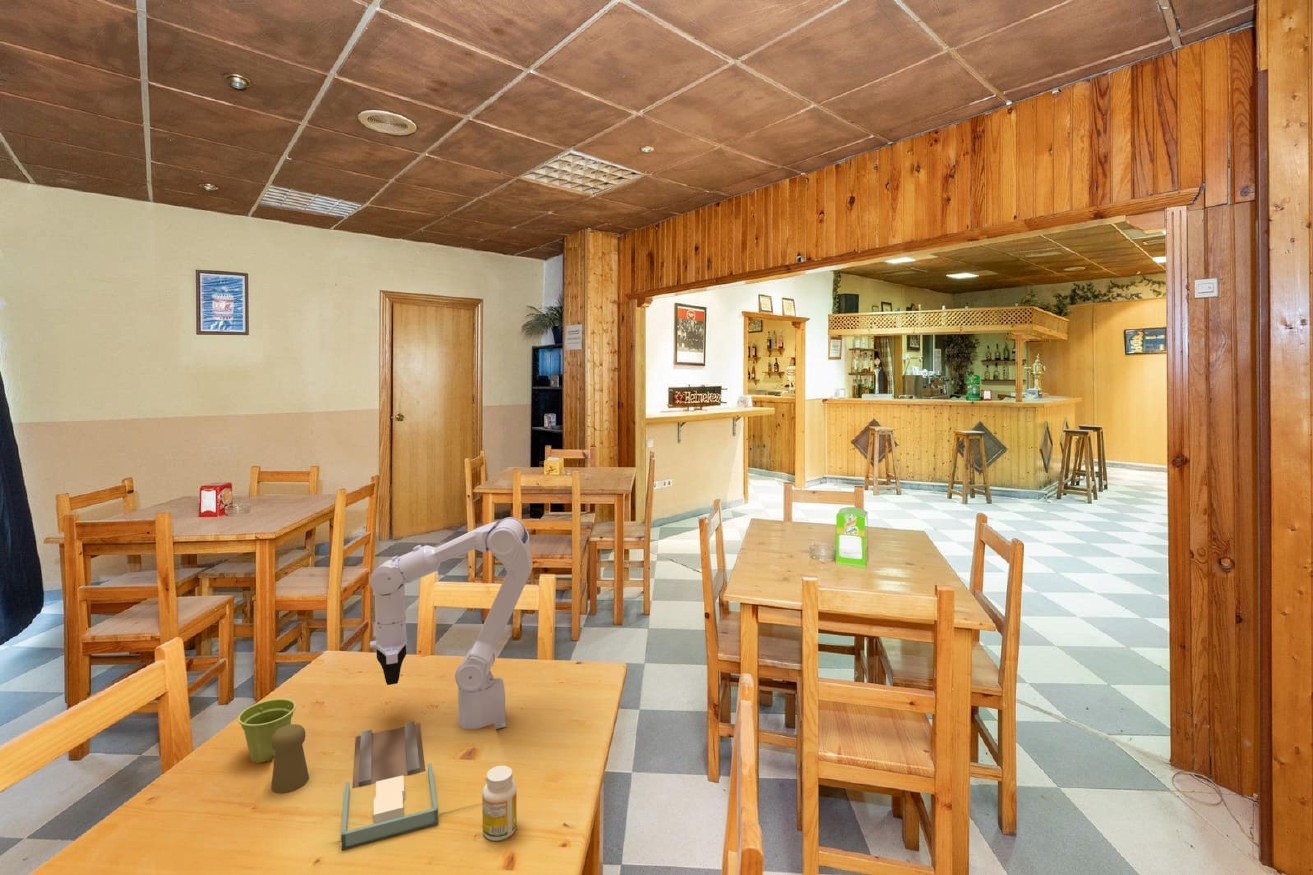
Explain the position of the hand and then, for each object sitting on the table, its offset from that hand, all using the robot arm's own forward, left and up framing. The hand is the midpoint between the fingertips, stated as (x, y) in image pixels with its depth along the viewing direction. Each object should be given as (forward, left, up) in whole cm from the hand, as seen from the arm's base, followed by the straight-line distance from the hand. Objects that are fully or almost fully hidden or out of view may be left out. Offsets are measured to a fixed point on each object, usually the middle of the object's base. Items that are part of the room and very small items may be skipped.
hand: (392, 682), depth 127 cm
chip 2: (+1, +29, -9) cm, 30 cm away
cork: (+17, +14, -10) cm, 24 cm away
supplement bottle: (-15, +39, -10) cm, 43 cm away
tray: (+1, +27, -9) cm, 29 cm away
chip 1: (+1, +25, -9) cm, 26 cm away
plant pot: (+22, +1, -10) cm, 24 cm away
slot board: (+1, +12, -9) cm, 15 cm away
